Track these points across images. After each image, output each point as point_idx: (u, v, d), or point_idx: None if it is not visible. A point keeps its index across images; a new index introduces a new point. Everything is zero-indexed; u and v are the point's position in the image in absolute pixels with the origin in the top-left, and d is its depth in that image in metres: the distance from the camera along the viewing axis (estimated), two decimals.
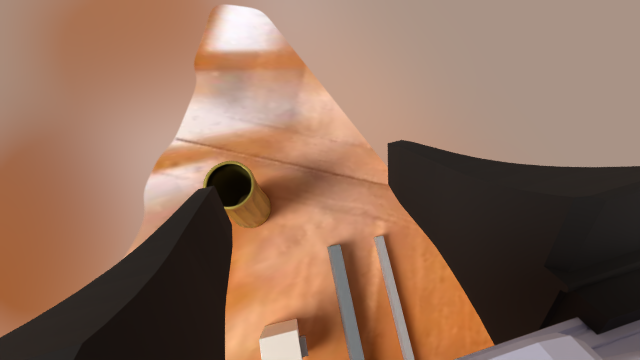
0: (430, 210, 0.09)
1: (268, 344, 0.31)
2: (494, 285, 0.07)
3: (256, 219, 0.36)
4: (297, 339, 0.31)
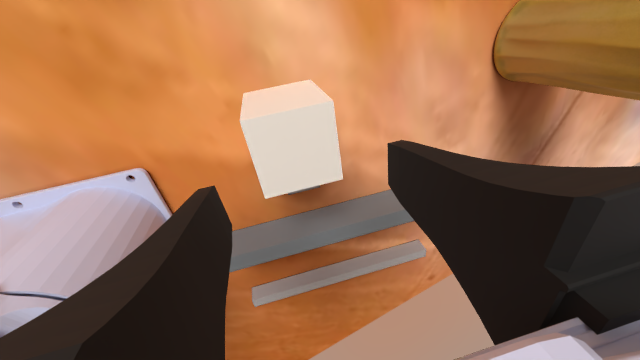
0: (430, 210, 0.09)
1: (320, 123, 0.13)
2: (494, 286, 0.07)
3: (551, 68, 0.16)
4: (325, 181, 0.15)
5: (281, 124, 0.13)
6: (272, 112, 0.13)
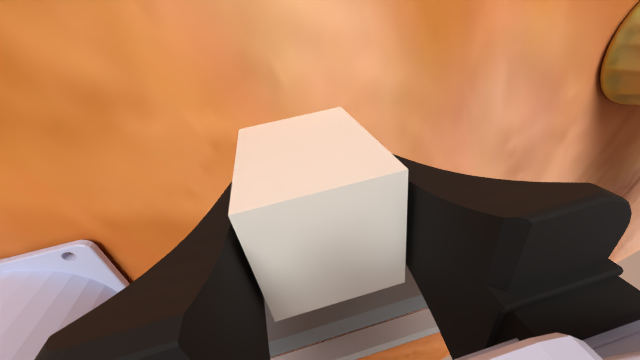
0: None
1: (380, 207, 0.07)
2: (448, 300, 0.07)
3: None
4: (376, 288, 0.09)
5: (308, 213, 0.07)
6: (292, 192, 0.06)
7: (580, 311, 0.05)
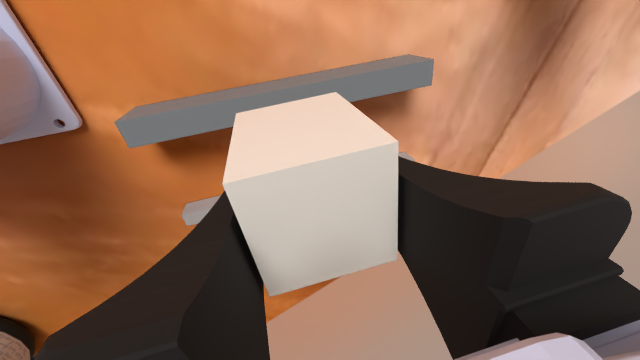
0: None
1: (371, 180, 0.07)
2: (448, 300, 0.07)
3: None
4: (369, 264, 0.09)
5: (300, 185, 0.07)
6: (285, 163, 0.07)
7: (581, 311, 0.05)
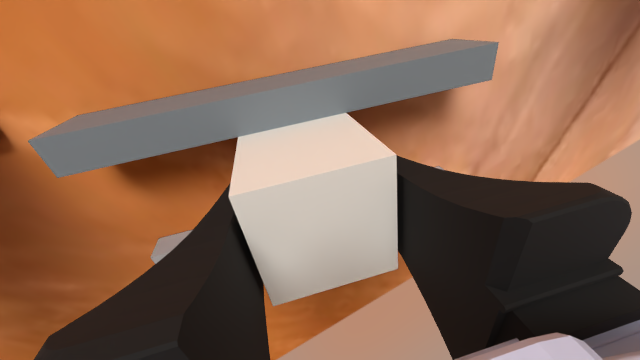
0: None
1: (371, 191, 0.07)
2: (448, 300, 0.07)
3: None
4: (370, 274, 0.09)
5: (303, 197, 0.07)
6: (288, 176, 0.07)
7: (580, 311, 0.05)
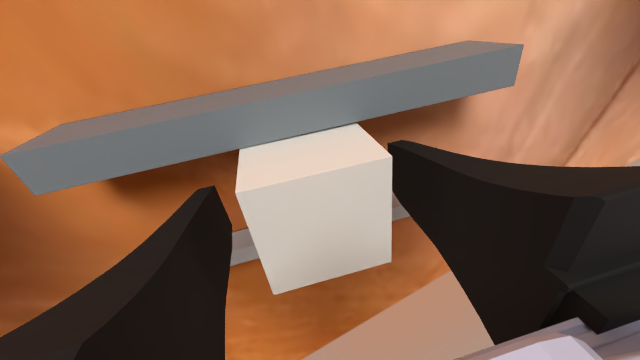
0: (430, 210, 0.09)
1: (368, 190, 0.08)
2: (494, 286, 0.07)
3: None
4: (365, 266, 0.10)
5: (304, 194, 0.08)
6: (291, 175, 0.07)
7: None
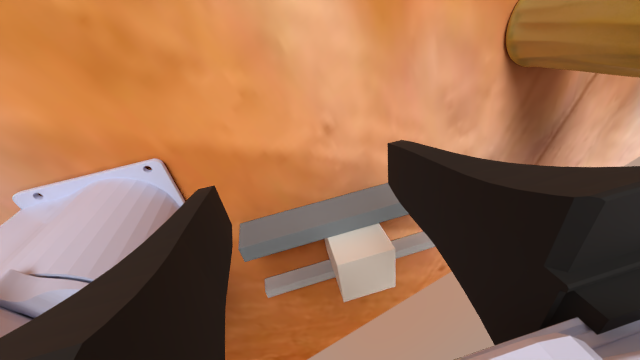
0: (430, 210, 0.09)
1: (385, 260, 0.20)
2: (494, 285, 0.07)
3: (566, 50, 0.16)
4: (384, 288, 0.22)
5: (361, 263, 0.19)
6: (356, 256, 0.19)
7: None
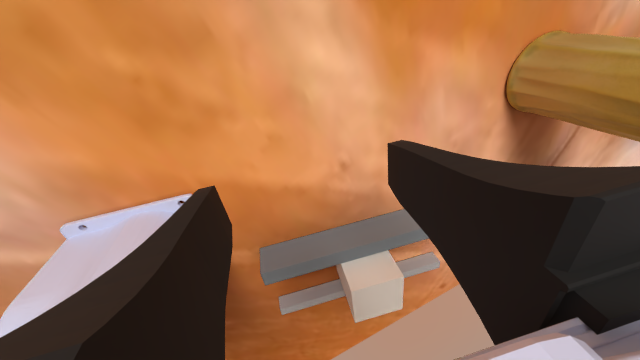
0: (430, 210, 0.09)
1: (394, 286, 0.22)
2: (494, 286, 0.07)
3: (559, 107, 0.18)
4: (392, 310, 0.24)
5: (373, 289, 0.21)
6: (368, 283, 0.21)
7: None
